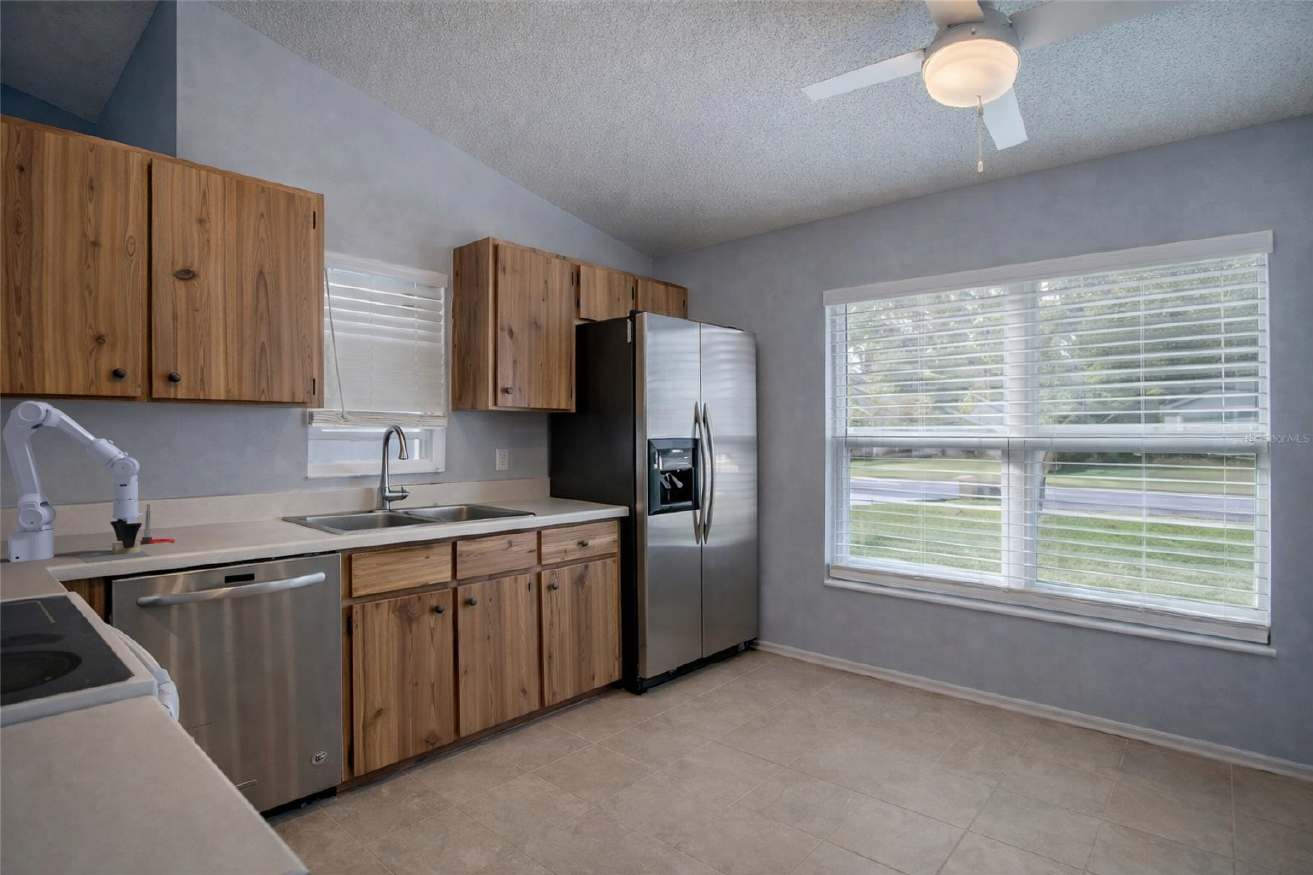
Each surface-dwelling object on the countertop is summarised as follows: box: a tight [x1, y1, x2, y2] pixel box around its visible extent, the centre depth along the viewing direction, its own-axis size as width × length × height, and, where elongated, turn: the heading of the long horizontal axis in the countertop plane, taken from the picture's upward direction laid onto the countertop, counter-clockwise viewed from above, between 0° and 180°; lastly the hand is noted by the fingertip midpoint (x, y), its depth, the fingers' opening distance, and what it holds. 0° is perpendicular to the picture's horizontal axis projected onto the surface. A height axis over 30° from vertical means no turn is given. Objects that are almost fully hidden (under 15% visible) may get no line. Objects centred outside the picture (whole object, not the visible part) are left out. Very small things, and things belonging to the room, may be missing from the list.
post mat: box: [76, 542, 152, 564], centre depth 193 cm, size 14×16×4 cm
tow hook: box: [137, 503, 176, 546], centre depth 220 cm, size 8×13×9 cm
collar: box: [111, 539, 141, 555], centre depth 198 cm, size 6×6×3 cm
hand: (126, 546), depth 198 cm, fingers open, 6 cm apart
